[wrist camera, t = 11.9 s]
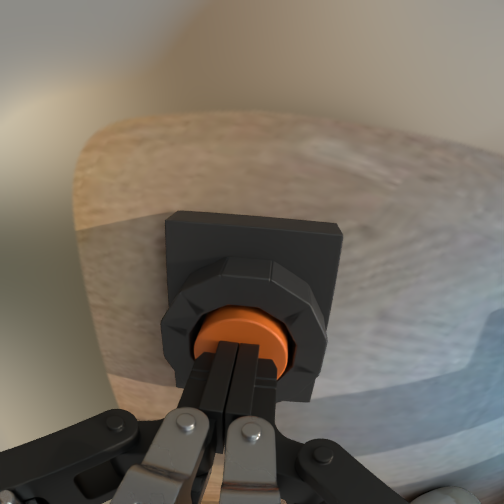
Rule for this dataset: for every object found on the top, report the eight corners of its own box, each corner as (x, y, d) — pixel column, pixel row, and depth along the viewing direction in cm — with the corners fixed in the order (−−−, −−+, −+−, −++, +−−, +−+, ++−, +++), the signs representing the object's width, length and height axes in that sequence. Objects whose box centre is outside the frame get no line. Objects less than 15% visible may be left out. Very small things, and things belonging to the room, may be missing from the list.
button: (202, 291, 13) (191, 313, 11) (292, 300, 13) (293, 324, 11) (204, 360, 14) (195, 385, 13) (282, 368, 14) (282, 395, 12)
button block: (177, 210, 14) (147, 233, 11) (336, 223, 14) (352, 251, 10) (184, 367, 17) (166, 411, 14) (308, 381, 17) (310, 428, 14)
